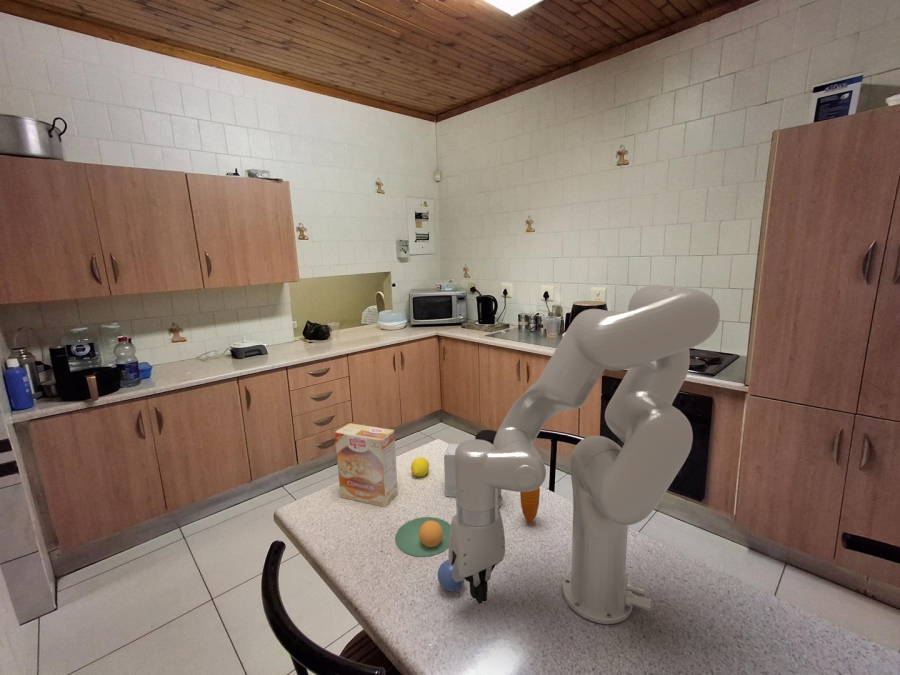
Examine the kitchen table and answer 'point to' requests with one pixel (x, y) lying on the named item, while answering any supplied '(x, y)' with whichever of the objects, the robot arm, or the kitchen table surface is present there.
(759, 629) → the kitchen table surface
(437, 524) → the object ball
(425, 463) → the lemon
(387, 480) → the coffeecake box
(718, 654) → the kitchen table surface
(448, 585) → the blue ball
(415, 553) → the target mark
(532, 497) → the carrot
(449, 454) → the supplement box
